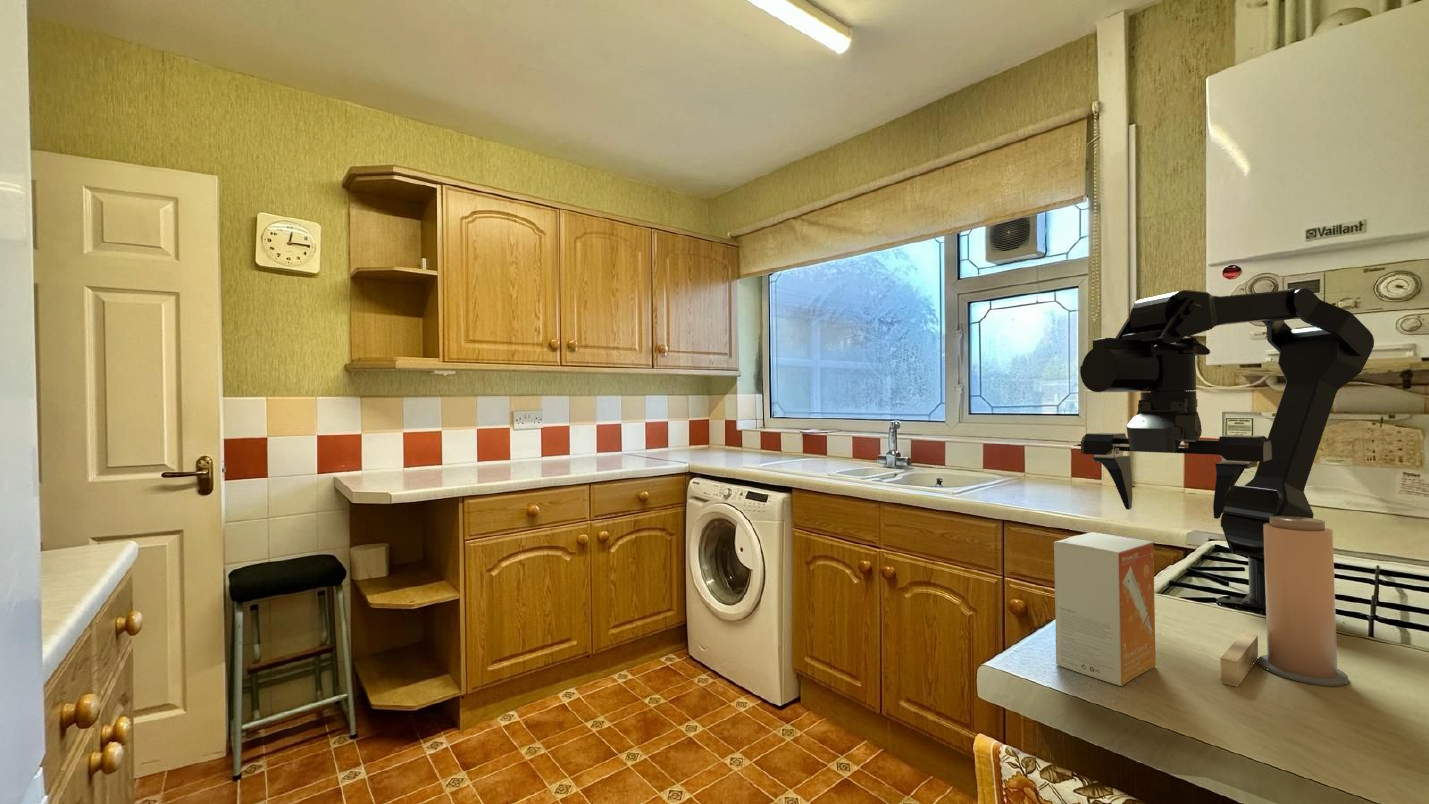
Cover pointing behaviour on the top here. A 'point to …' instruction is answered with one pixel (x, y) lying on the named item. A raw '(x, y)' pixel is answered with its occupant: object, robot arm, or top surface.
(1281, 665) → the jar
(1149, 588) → the small box
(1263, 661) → the coaster
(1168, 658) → the top surface
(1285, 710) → the top surface
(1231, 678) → the block
